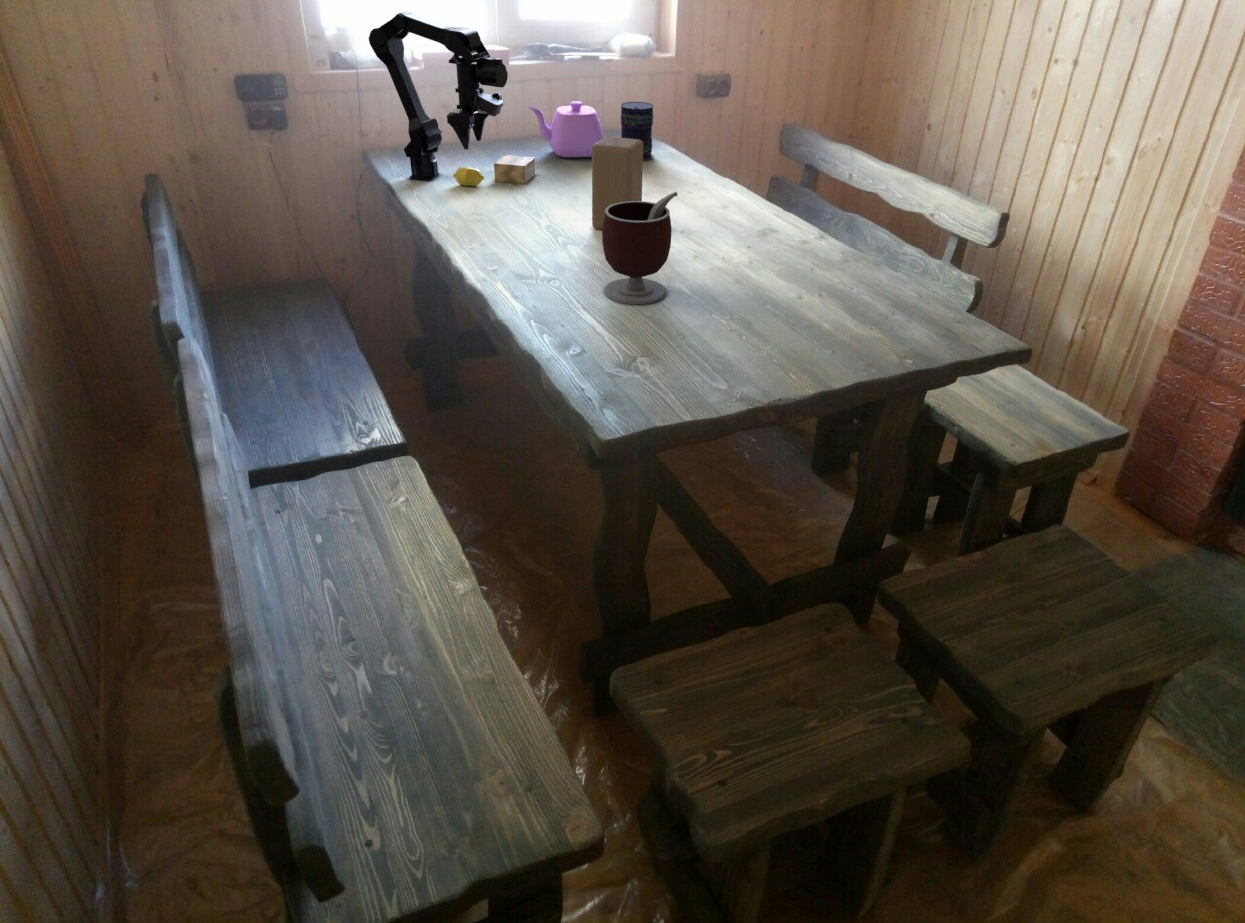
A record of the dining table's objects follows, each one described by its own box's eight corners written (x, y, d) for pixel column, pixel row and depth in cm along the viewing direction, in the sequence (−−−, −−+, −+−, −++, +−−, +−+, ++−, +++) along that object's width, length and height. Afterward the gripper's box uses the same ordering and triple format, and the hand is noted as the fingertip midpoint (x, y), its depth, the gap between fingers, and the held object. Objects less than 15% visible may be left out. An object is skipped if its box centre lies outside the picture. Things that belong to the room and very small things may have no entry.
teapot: (597, 142, 283) (597, 92, 274) (607, 160, 265) (607, 107, 257) (527, 144, 279) (524, 94, 271) (532, 162, 262) (529, 109, 254)
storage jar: (622, 151, 274) (623, 101, 266) (653, 153, 273) (655, 102, 265) (617, 160, 266) (618, 108, 257) (649, 161, 265) (651, 109, 256)
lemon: (450, 186, 241) (449, 168, 238) (457, 181, 245) (455, 164, 242) (481, 189, 239) (480, 171, 237) (487, 184, 243) (486, 166, 241)
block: (642, 221, 219) (644, 139, 208) (629, 234, 211) (631, 149, 200) (604, 216, 222) (605, 134, 211) (590, 229, 214) (590, 144, 203)
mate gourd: (617, 310, 175) (619, 211, 164) (591, 284, 185) (591, 190, 174) (687, 298, 180) (693, 201, 169) (658, 274, 191) (661, 182, 179)
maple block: (494, 181, 246) (493, 163, 243) (505, 172, 253) (504, 154, 250) (525, 184, 244) (524, 165, 241) (535, 175, 251) (534, 157, 249)
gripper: (485, 92, 219) (489, 156, 227) (509, 78, 234) (512, 139, 243) (443, 89, 221) (448, 152, 229) (470, 75, 236) (474, 135, 244)
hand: (472, 144), depth 236 cm, fingers open, 9 cm apart
